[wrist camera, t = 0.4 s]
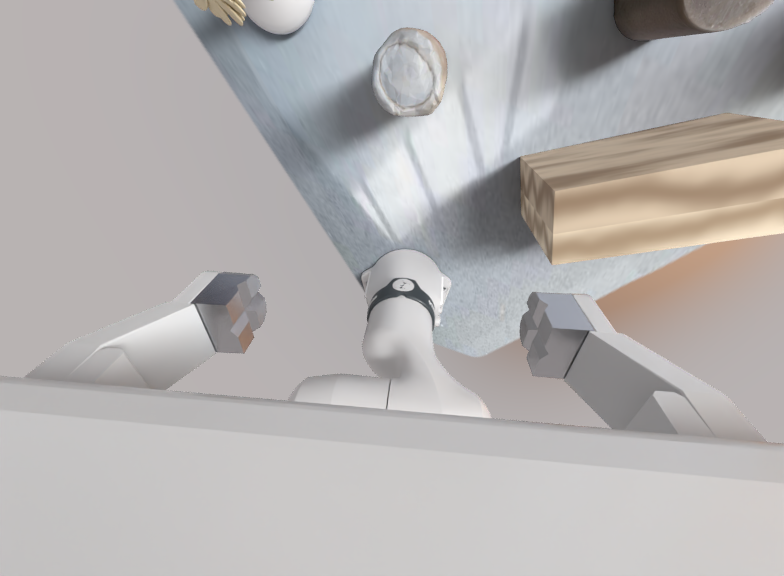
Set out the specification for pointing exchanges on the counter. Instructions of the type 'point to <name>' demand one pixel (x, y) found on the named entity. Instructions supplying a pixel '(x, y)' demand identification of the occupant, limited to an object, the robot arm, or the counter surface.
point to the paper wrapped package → (409, 73)
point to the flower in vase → (262, 12)
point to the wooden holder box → (657, 189)
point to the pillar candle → (682, 16)
